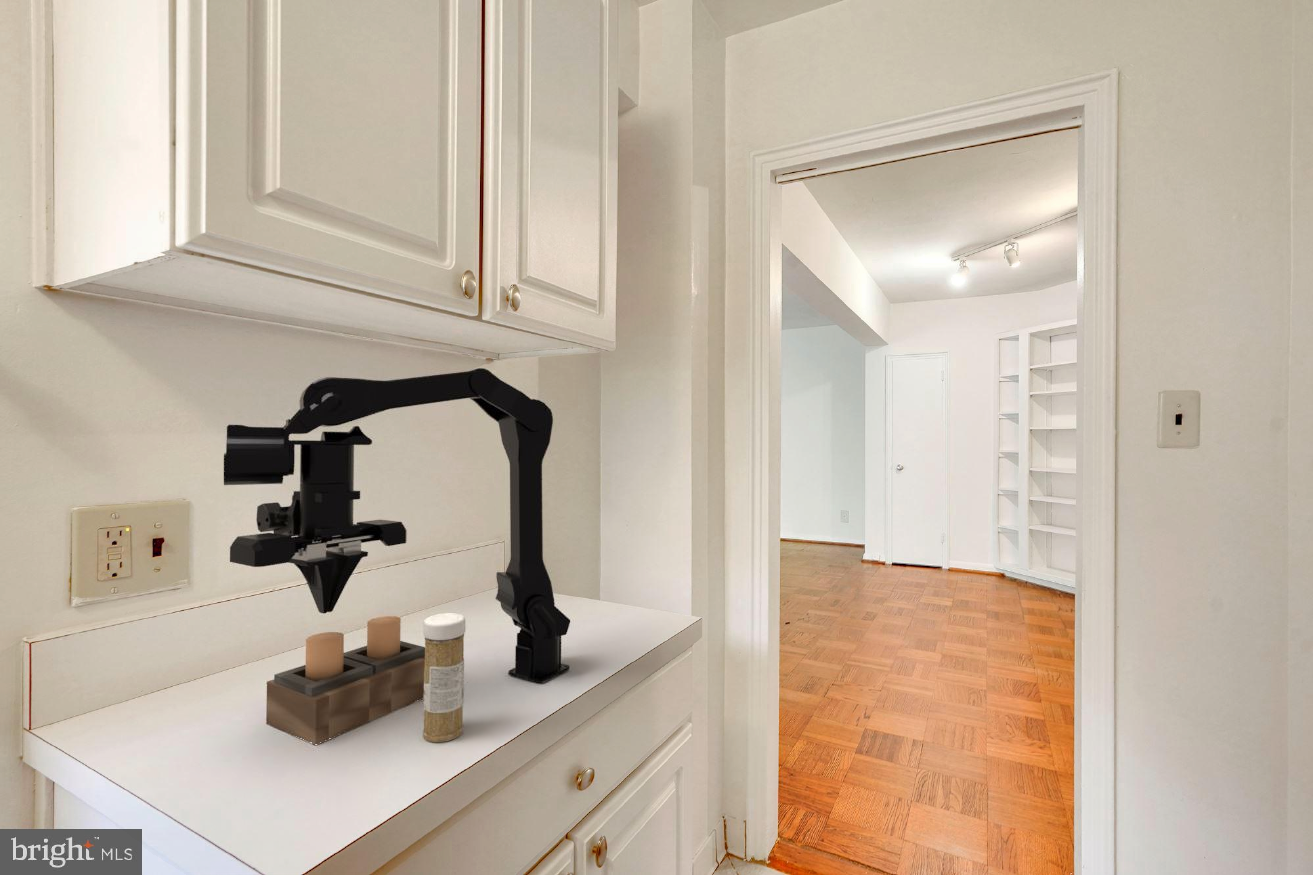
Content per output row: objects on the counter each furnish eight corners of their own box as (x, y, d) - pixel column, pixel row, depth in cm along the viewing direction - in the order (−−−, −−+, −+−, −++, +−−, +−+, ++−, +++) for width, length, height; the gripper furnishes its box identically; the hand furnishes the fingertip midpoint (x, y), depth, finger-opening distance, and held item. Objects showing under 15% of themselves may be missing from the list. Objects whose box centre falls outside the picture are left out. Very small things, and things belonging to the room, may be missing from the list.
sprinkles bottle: (428, 725, 72) (429, 612, 72) (468, 724, 72) (469, 611, 72) (417, 745, 67) (418, 623, 67) (459, 743, 67) (460, 622, 68)
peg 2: (387, 658, 82) (387, 614, 82) (406, 664, 80) (407, 619, 80) (360, 668, 79) (360, 622, 79) (379, 674, 77) (380, 626, 77)
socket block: (385, 678, 86) (386, 636, 86) (433, 693, 81) (434, 648, 81) (266, 723, 72) (266, 673, 72) (315, 745, 67) (316, 691, 67)
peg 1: (330, 678, 75) (331, 630, 76) (350, 684, 73) (350, 635, 74) (298, 689, 72) (298, 639, 72) (317, 696, 70) (318, 644, 70)
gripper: (357, 476, 85) (356, 587, 85) (205, 484, 69) (203, 621, 69) (410, 479, 79) (408, 598, 79) (258, 488, 63) (256, 637, 63)
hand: (325, 612), depth 73 cm, fingers closed
